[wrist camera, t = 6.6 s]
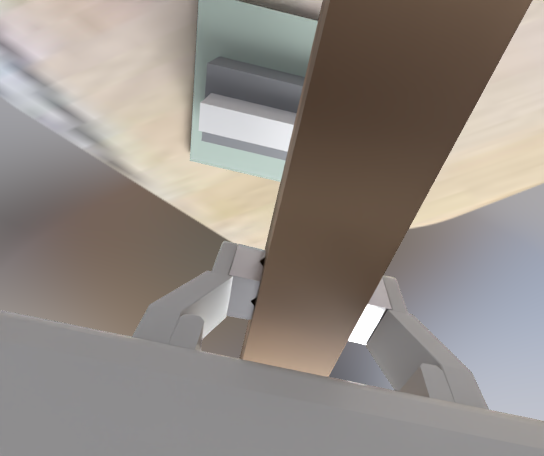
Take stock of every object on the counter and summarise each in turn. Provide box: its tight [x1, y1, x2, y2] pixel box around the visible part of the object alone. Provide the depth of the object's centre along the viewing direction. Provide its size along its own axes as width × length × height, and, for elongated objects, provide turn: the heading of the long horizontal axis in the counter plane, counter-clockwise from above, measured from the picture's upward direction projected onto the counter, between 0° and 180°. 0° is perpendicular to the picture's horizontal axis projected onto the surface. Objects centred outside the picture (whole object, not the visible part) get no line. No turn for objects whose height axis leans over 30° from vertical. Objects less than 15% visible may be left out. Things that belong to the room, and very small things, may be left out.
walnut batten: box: [240, 0, 532, 377], centre depth 11 cm, size 18×3×4 cm, turn 169°
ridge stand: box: [190, 0, 318, 182], centre depth 26 cm, size 14×18×8 cm
